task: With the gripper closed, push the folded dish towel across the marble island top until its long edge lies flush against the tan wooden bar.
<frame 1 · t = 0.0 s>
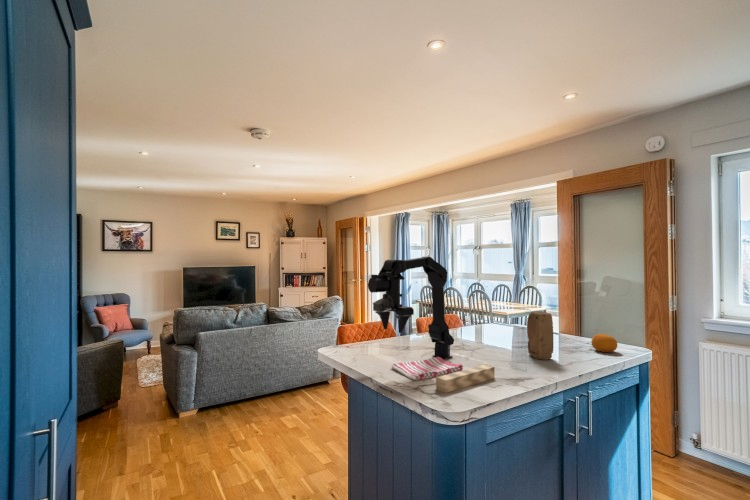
hand: (392, 331, 148), 15 cm above the table, fingers open, 9 cm apart
tan wooden bar: (466, 383, 130), on the table
dish towel: (426, 372, 146), on the table
fruit: (604, 351, 177), on the table
block: (539, 357, 166), on the table
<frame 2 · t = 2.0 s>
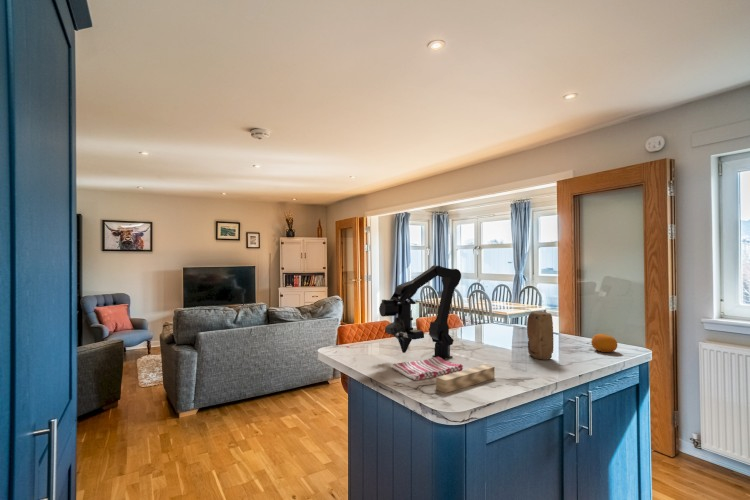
hand: (404, 352, 157), 4 cm above the table, fingers closed
nothing on the table moved.
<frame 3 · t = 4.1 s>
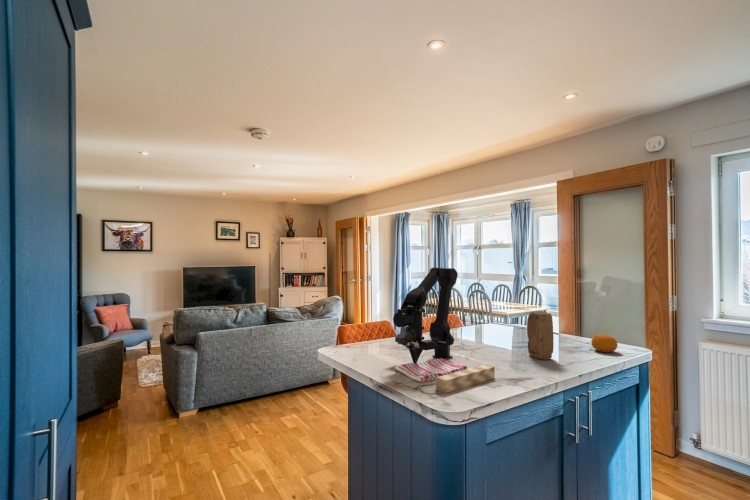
hand: (414, 363, 151), 1 cm above the table, fingers closed
dish towel: (430, 373, 144), on the table
everything else where it was.
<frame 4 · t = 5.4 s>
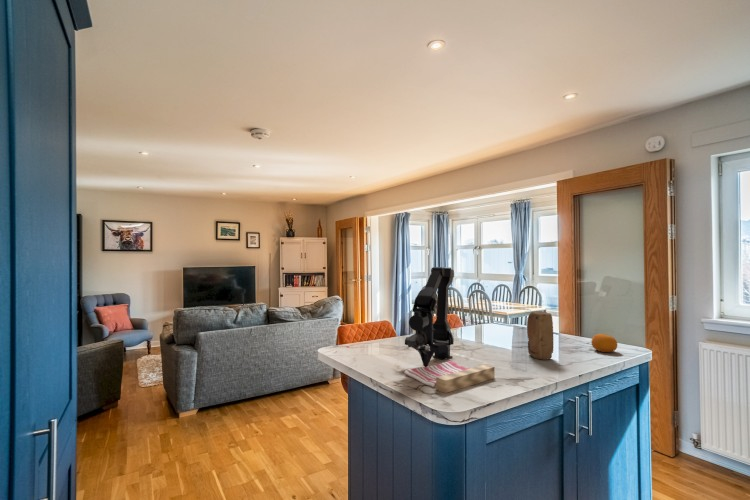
hand: (425, 366, 146), 1 cm above the table, fingers closed
dish towel: (441, 377, 139), on the table
everything else where it was.
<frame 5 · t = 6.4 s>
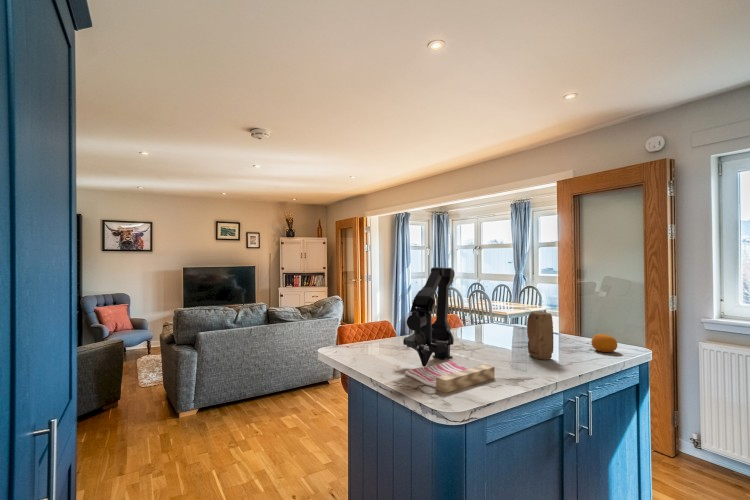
hand: (424, 366, 147), 1 cm above the table, fingers closed
nothing on the table moved.
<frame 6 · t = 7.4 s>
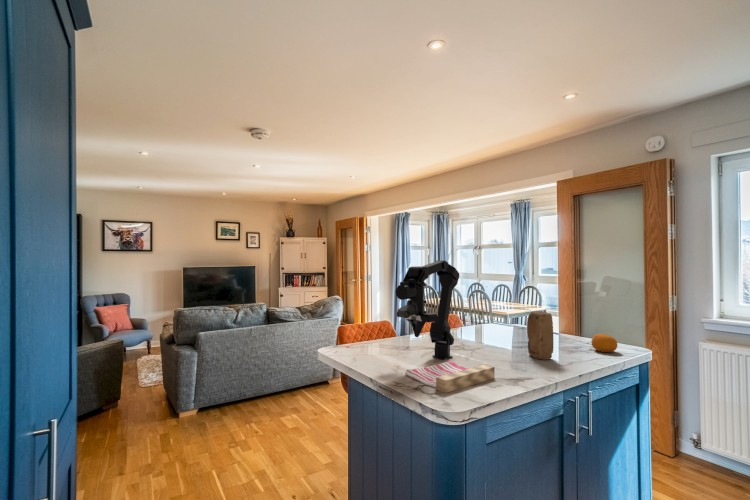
hand: (416, 337, 151), 12 cm above the table, fingers closed
nothing on the table moved.
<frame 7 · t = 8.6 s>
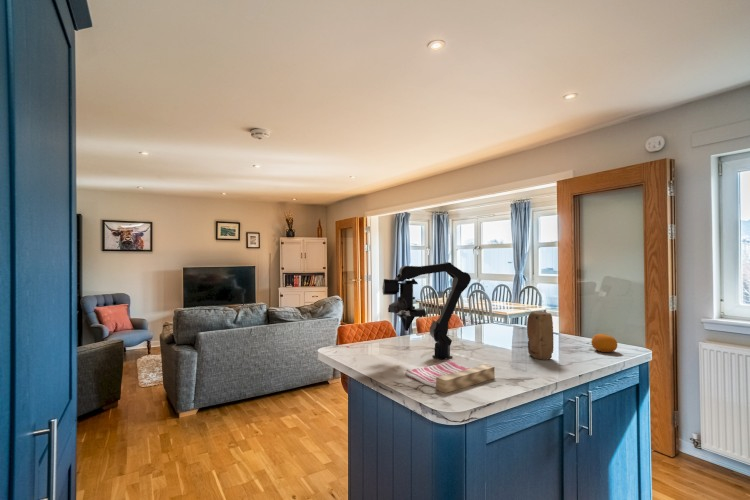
hand: (406, 330, 163), 12 cm above the table, fingers closed
nothing on the table moved.
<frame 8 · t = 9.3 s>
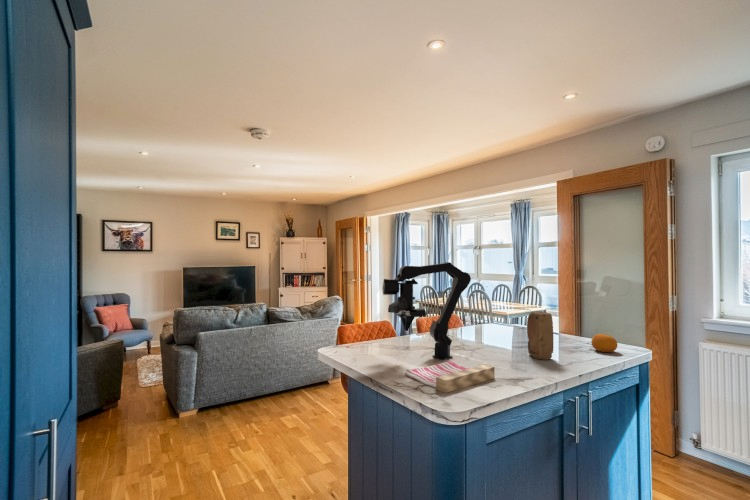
hand: (406, 330, 163), 12 cm above the table, fingers closed
nothing on the table moved.
at the end: dish towel inside the target area on the table beside the tan wooden bar (0.5 cm from its centre), on the table; dish towel tilted 0° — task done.
